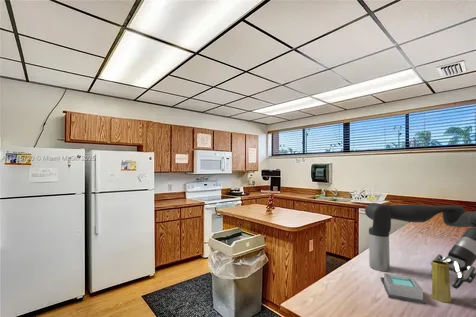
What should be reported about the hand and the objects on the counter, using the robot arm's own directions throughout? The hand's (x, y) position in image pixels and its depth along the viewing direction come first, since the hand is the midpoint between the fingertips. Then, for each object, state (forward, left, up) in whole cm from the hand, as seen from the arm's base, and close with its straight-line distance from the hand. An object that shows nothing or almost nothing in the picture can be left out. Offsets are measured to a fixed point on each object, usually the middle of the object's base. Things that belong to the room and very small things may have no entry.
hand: (442, 281), depth 94 cm
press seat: (+1, -14, -4) cm, 14 cm away
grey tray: (-2, -14, -7) cm, 16 cm away
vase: (0, 0, -7) cm, 7 cm away
